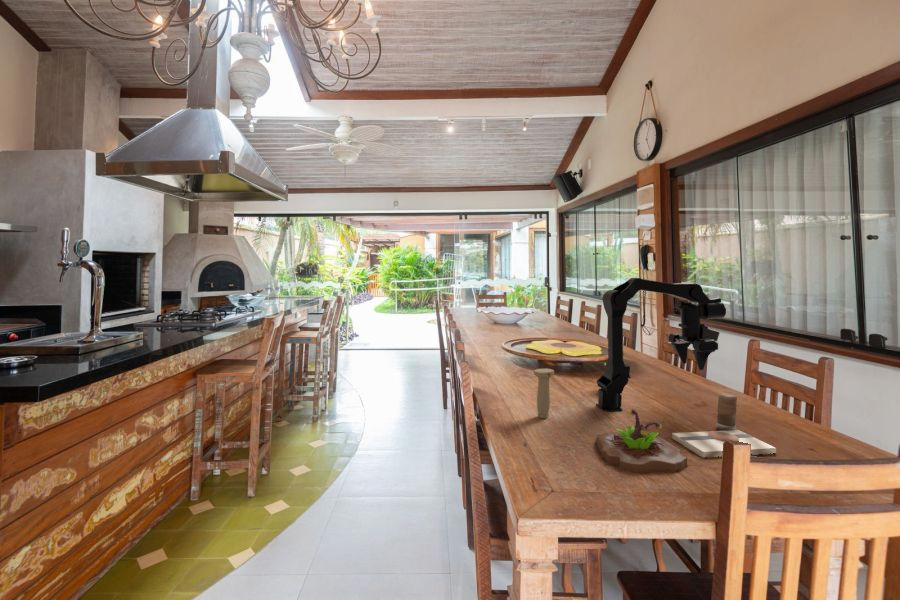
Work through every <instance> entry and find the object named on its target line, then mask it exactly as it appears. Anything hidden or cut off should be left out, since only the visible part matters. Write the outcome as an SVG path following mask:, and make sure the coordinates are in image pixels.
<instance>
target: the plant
mask: <svg viewBox="0 0 900 600" xmlns="http://www.w3.org/2000/svg"><path fill="white" fill-rule="evenodd" d="M629 414H630V415H631V416H635V424H634V425H632V426H631V428H629V427H627V426H625V427H624V429H625V430H623V429H621V428H616V430H617V431H613V432H609V433H608V432H606V433H599V434H598V433H597V434H596V439H595V440H596V441H595V444H596V445H597V447H598V451H599V453H600V458H602V459H604V460H605V462H606V463H608V464H610V465H616V466H618V467H619V470H622V471H626V472H629V471H630V473H636V474H638V473H639V474H641V473H650V472H669V471H670V472H669V473H676V472H678V471H677V470H679V471H681V469H682V470H683V469H684V468H686V467H687V466H688V457H686V456H684V455H683V454H682V450H681V449H680V448H678V447H676V446H675V445H673V444H671V443H670V442H668V441H667V440H666V439H664V438H662V437H660V436H658V435H659V432H657V431H653V432H649V433H647V429H648V428H649V427H650V426H652V425H655V427H656V429H657V430H662V428H663V425H662V424H660V422H656V421H650V422H648V423H646V424H645V425H644V424H643V423H641V421H640V418H639V414H638V411H637V410H636V409H631V410H630V411H629ZM685 466H686V467H685Z"/></svg>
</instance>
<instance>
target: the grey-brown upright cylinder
mask: <svg viewBox="0 0 900 600" xmlns="http://www.w3.org/2000/svg"><path fill="white" fill-rule="evenodd" d="M737 403H738V396H736V395H734V394H729V393H718V401H717V416H716V418H717V421H716V429H718V431H729V430H737V424H736V422H737Z"/></svg>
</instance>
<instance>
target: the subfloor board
mask: <svg viewBox="0 0 900 600" xmlns="http://www.w3.org/2000/svg"><path fill="white" fill-rule="evenodd" d="M671 435H672V436H671V439H673V440H674V441H675V442H678V443H679V444H680V445H683V447H685V448H687V449H688V450H690V451H692V452H693V453H694V454H696V455H698V456H700V457H701V458H704V459H705V457H707V458H722V451H723V443H724V442H725V441H727V440H732V441H739V442H743V443H748V444H751V454H752V455H751V456H760V455H759V454H763V455H765V454H764V453H767V454H766V455H774V454H773V453H776V454H777V447H775V446H773V445H771V444H769V443H766V442H765V441H762V440H760V439H758V438H757V437H754V436H752V435H750V434H748V433H745V432H744V431H741V430H739V429H736V430H729V431H721V430H713V431H712V430H711V431H693V432H692V431H689V432H687V431H686V432H672V433H671ZM770 453H771V454H770ZM718 456H719V457H718Z"/></svg>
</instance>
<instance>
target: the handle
mask: <svg viewBox="0 0 900 600" xmlns="http://www.w3.org/2000/svg"><path fill="white" fill-rule="evenodd" d="M533 375H534V377H535V376H536V377H537V378H538V381H537V383H538V384H537V394H536V395H537V397H536V407H537V409H536V410H537V417H538V418H539V419H545V420H546V419H547V418H549V414H550V413H549V412H550V406H551V405H550V404H551V397H550V395H551V393H550V392H551V391H550V378H551V377H553V376H554V375H555V370H554V369H551V368H537V369H534V370H533Z"/></svg>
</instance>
